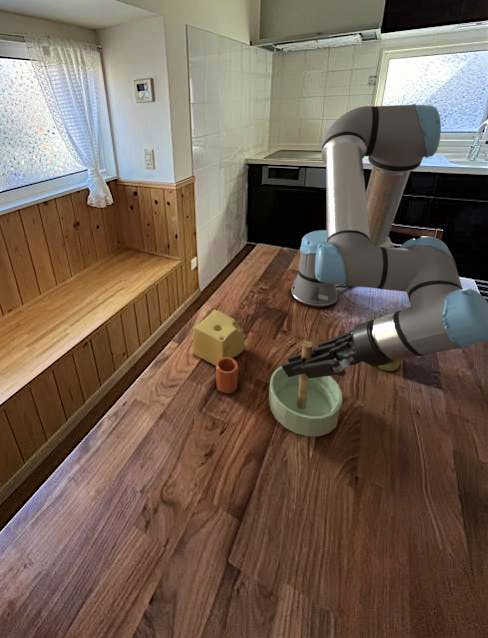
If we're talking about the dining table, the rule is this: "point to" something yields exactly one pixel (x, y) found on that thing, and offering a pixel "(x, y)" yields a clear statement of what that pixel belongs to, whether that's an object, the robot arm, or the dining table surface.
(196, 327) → the cheese
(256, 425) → the dining table surface
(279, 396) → the bowl
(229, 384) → the utensil cup
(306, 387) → the stick
